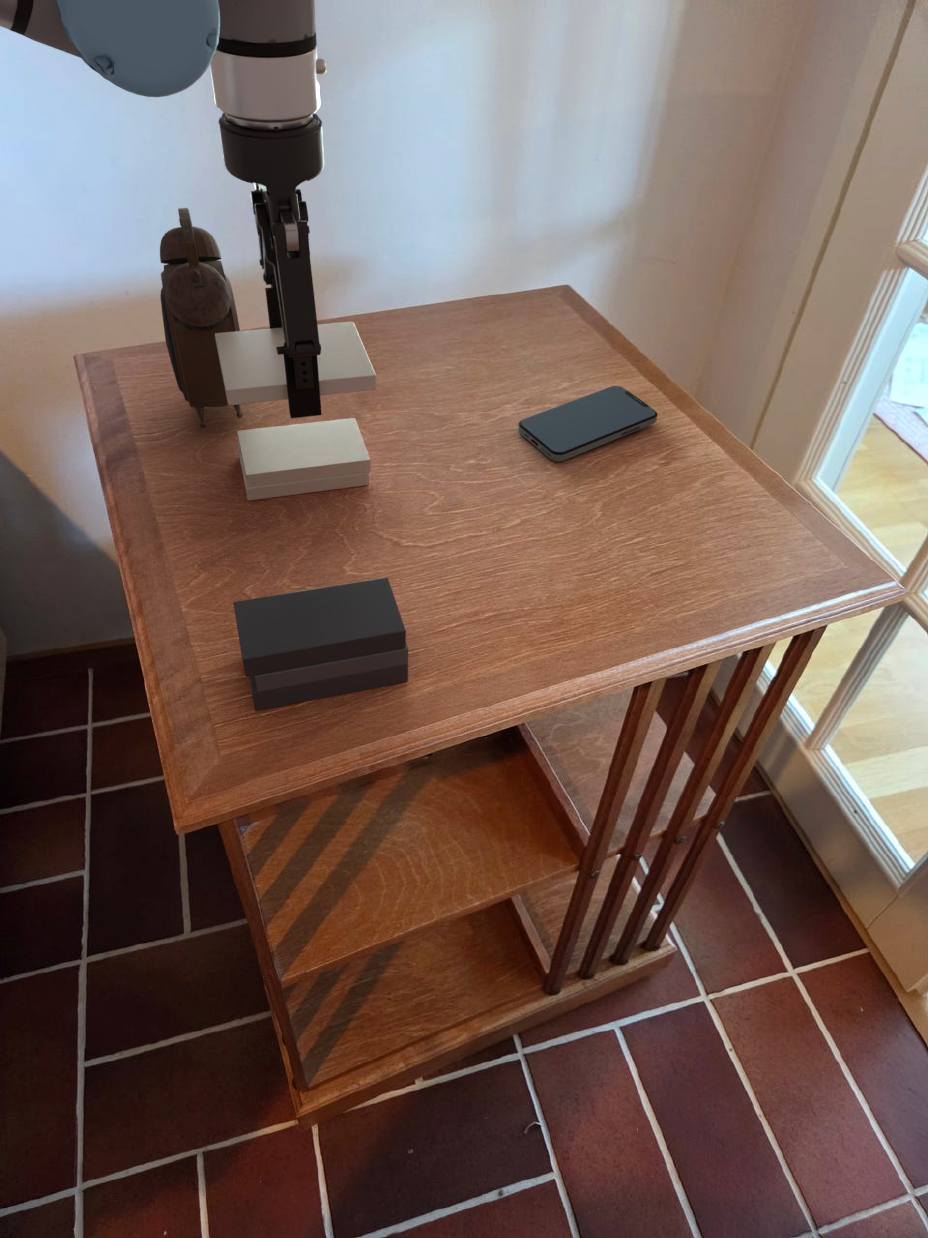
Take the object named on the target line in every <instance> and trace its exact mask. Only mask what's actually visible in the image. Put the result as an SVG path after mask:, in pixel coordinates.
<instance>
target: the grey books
mask: <svg viewBox="0 0 928 1238" xmlns="http://www.w3.org/2000/svg"><path fill="white" fill-rule="evenodd" d="M233 609H234V615H235V621H236V628H237V635H238V640H239V647H240V654H241V659H242V664H243V671H244V675H245V677H246V678H249V684H250V685H249V686H250V689H251V695H252V701H253V706H254V711H256V712H257V711H262V710H267V709H273V708H278V707H283V706H289V705H292V704H299V703H304V702H309V701H315V700H319V699H324V698H331V697H335V696H340V695H346V694H350V693H356V692H361V691H367V690H372V689H376V688H377V689H378V688H382V687H387V686H392V685H398V684H403V683H407V682H409V647H408V643H407V639H406V638H407V629H406V627H405V624H404V621H403V618H402V615H401V612H400V610H399V606H398V604H397V600H396V597H395V594H394V592H393V589H392V586H391V582H390V581H389V577H388V576H387V577H385V576H384V577H381V578H374V579H373V578H372V579H366V580H361V581H354V582H347V583H343V584H336V585H330V586H322V587H316V588H310V589H305V590H304V589H303V590H299V591H292V592H285V593H279V594H274V595H273V594H272V595H269V596H268V595H266V596H260V597H255V598H249V599H241V600H236V601H235V600H234V601H233Z"/></svg>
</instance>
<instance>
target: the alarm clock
mask: <svg viewBox="0 0 928 1238" xmlns="http://www.w3.org/2000/svg"><path fill="white" fill-rule="evenodd" d="M177 211H178V218H179V219H178V220H179V221H178V222H179V226H178V227H174V228H170V229H169V230H168V231H166V232H165V233H164V235H163V236H162V237H161V240H160V243H159V260H160V264H163V270H162V272H161V273H160V280H161V286H162V287H161V288H160V289H161V290H160V297H159V298H160V305H161V315H162V323H163V332H164V339H165V345H166V348H167V352H168V356H169V359H170V363H171V367H172V370H173V373H174V377H175V381H176V383H177V384H176V385H177V387H178V389H179V391H180V392H181V393H182V395H183V398H184V401H186V402H187V403H188V404H189V406H190V408H195V411H196V413H197V416H198V419H199V422H200V423H199V426H200V428H203V429H204V428H206V427H207V423H206V420H205V419H206V418H205V408H218V407H219V408H220V407H226V406H229V405H228V401H227V396H226V391H225V386H224V381H223V376H222V371H221V365H220V360H219V355H218V350H217V345H216V339H215V333H224V332H236V331H241V328H240V322H239V316H238V311H237V306H236V301H235V297H234V291H233V287H232V283H231V280H230V279H229V277H228V275H226V274H225V270H224V267H223V266H224V265H223V263H222V255H221V251H220V248H219V245H218V243H217V241H216V239H215V238H214V236H213V235H212V234H211V233H210V232H208V231H207V230H206V229H204V228H202V227H198V226H193V222H192V218H191V214H190V213H191V212H190V209H189V208H188V207H179V208H178V209H177ZM232 406H233V408H234V410H235V412H236V417H237V419H242V418H243V414H242V412H241V404H237V405H232Z"/></svg>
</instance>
